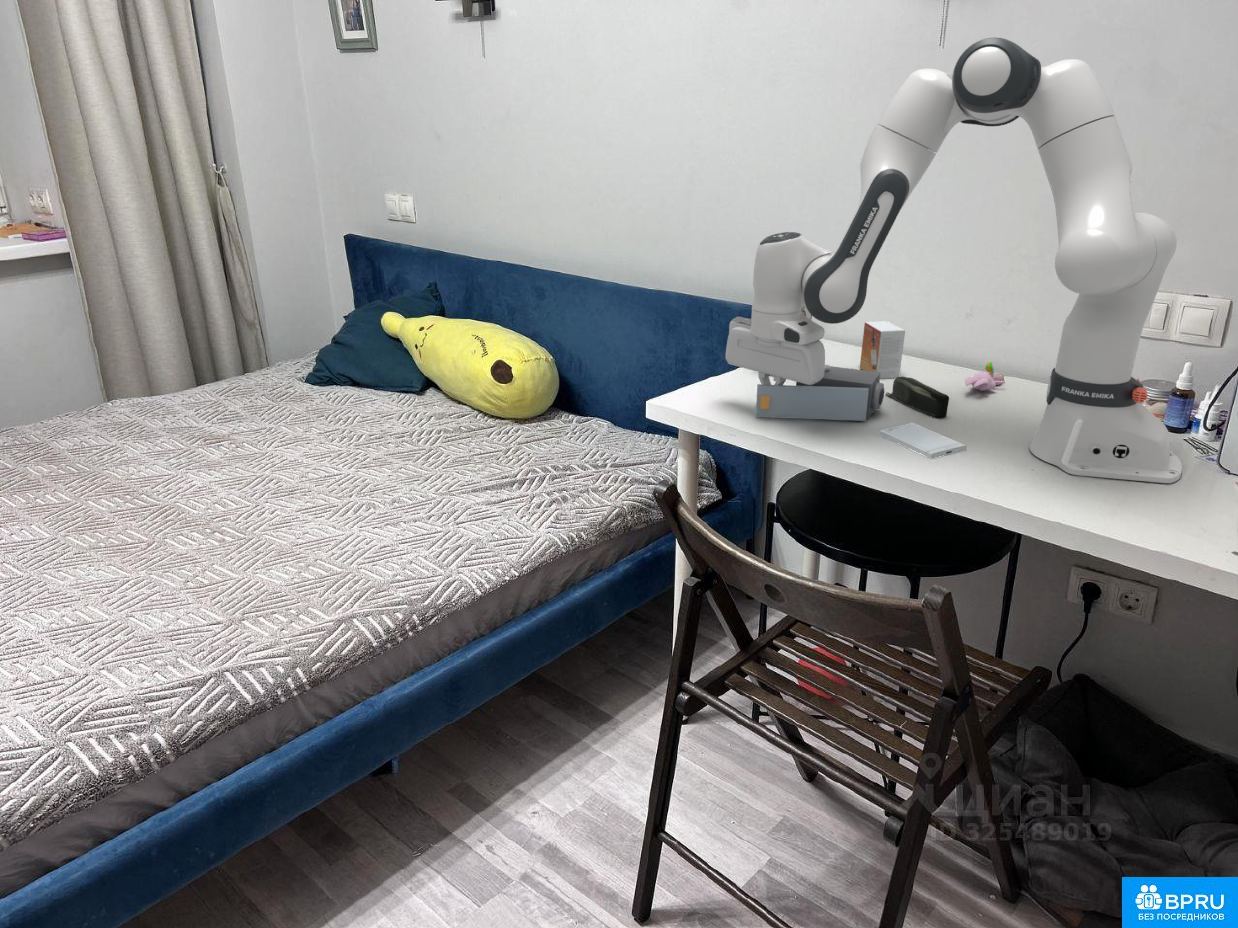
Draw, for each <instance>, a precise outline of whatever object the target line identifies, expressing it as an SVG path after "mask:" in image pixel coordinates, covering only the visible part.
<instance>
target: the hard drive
mask: <svg viewBox="0 0 1238 928" xmlns="http://www.w3.org/2000/svg"><path fill="white" fill-rule="evenodd" d="M879 435H880V437H882V438H884V439H886V440H888V441H891V442H893V443H894V444H897V443H899V444H901V445H903V446H906V447H908V448H910V449H912V450H914V451H916V452H918V453H921V454H923V455H925V456H927V457H929V458H934V459H936V458H935V457H938V458H940V457H939V456H942V457H946V456H949V455H948V454H950V455H953V453H954V454H957V452H958V453H961V452H965V451H967V447H968V446H967V445H965V444H963V443H961V442H959V441H957V440H954V439H952V438H950V437H947V436H944V435H943V434H940V433H938V432H935V431H933V430H930V429H928V428H926V427H924V426H921V425H920V424H917V423H915V422H910V423H905V424H900V425H897V426H893V427H888V428H884V429H883V428H882V429H881V430H879ZM899 444H898V445H899ZM901 445H900V446H901ZM903 446H902V447H903ZM908 448H907V449H908ZM910 449H909V450H910ZM912 450H911V451H912ZM914 451H913V452H914ZM916 452H915V453H916ZM918 453H917V454H918ZM921 454H920V455H921ZM923 455H922V456H923ZM943 455H944V456H943ZM945 455H946V456H945ZM925 456H924V457H925ZM927 457H926V458H927ZM929 458H928V459H929Z"/></svg>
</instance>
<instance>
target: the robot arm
mask: <svg viewBox="0 0 1238 928" xmlns="http://www.w3.org/2000/svg"><path fill="white" fill-rule="evenodd" d="M1102 85H1103V84H1101V82H1100V79H1098V77H1097V75H1096V73H1095V71H1094V70H1093V68H1092V67H1091V66H1090V64H1089V63H1088V62H1086V61H1084V60H1081V59H1078V58H1067V59H1062V60H1058V61H1055V62H1053V63H1051V64H1049V65H1045V66H1042V63H1041V61H1040V60H1039V59H1038V58H1036V57H1035V56H1033V54H1031V53H1029V52H1028V51H1026V50H1025V49H1024V48H1022V47H1021V46H1020V45H1019V44H1017V43H1015V42H1014V41H1012V40H1009V39H1006V38H1003V37H985V38H983V39H980V40H978V41H976V42H974V43H972V44H971V45H970V46H968V47H967V48H966V49H965V50H964V51H963V52H962V53H961V55H960V56H959V58H958V59H957V61H956V63H955V65H954V68H953V71H952V73H951V72H945V71H942V70H940V69H937V68H927V67H926V68H920V69H917V70H915V71H913V72H912V73H911V74H909V75H908V76H907V77H906V78H905V80H904V82H903V83H902V84H901V85H900V86H899V88H898V90H897V91H896V92H895V93H894V95H893V97H892V98H891V100H890V101H889V102H888V104H887V105H886V106H885V108H884V110H883V112H882V113H881V115H880V117H879V119H878V121H877V123H876V125H874V128H873V130H872V132H871V134H870V136H869V139H868V141H867V143H866V146H865V148H864V151H863V154H862V158H861V161H860V164H859V165H860V166H859V167H860V171H859V172H860V181H861V184H860V185H861V186H860V187H861V188H860V198H859V200H858V201H859V202H858V205H857V208H856V211H855V213H854V215H853V217H852V218H851V221H850V223H849V224H848V226H847V228H846V230H845V233H844V235H843V237H842V238H841V241H840V243H839V244H838V247H837V248H836V250H835V251H834V250H830V249H827V248H824V247H822V246H819V245H818V244H815V243H813V242H811V241H810V240H808V239H807V238H806V237H804V236H803V235H802V234H801V233H799V232H797V231H786V232H778V233H775V234H771V235H769V236H766V237H765V238H763V239H762V240H761V241H760V242H759V245H758V246H757V249H756V253H755V258H754V264H753V265H754V267H753V278H752V279H753V280H752V285H753V290H754V298H753V301H752V303H751V305H752V306H751V318H748V317H747V318H746V317H743V316H736V317H734V318H732V319H731V320H730V322H729V326H728V329H729V330H728V337H727V341H726V349H725V360H726V361H727V364H728V365H732V366H735V367H739V368H743V369H746V370H750V371H754V372H758V379H759V382H760V384H761V385H772V383H771V380H770V377H771V376H773V378H772V379H773V380H772V381H774V383H773V385H785V384H784V383H786V381H787V380H789V381H793V382H795V383H796V382H800V383H804V384H808V385H812V384H815V383H817V382H819V381H820V380H821V379H822V378H823V377H824V371H825V365H826V349H825V346H824V343H823V342H822V341H821V340H822V339H823V338H824V337H825V328H824V327H823V326H821V325H820V324H818V323H817V322H814V321H813V320H810V319H808V318H807V317H806V316H804V315H803V314H801V306H802V305H803V304H805V305H806V308H807V310H808V311H809V313H810V314H811V315H812V317H813V318H814V319H815V320H817V321H820V322H822V323H824V324H831V325H832V324H840V323H844V322H847V321H848V320H851V319H853V318H854V317H855V316H857V314H858V313H859V312H860V311H861V309H862V308H863V305H864V303H865V300H866V297H867V291H868V283H869V281H868V280H869V276H870V273H871V269H872V266H873V265H874V262H875V260H876V259H877V256H878V255H879V253H880V250H881V249H882V247H883V245H884V243H885V241H886V239H887V237H888V235H889V233H890V232H891V229H892V228H893V225H894V223H895V221H896V219H897V217H898V215H899V213H900V212H901V210H902V208H903V207H904V205H905V204H906V202H907V200H908V199H909V197H910V195H911V194H912V192H913V191H914V190H915V188H916V187H917V186H918V184H919V182H920V181H921V180H922V178H923V176H924V175H925V173H926V172H927V170H928V168H929V167H930V165H931V164H932V162H933V160H934V159H935V157H936V155H937V154H936V153H938V152H939V150H940V148H941V146H942V144H943V142H945V141H944V140H945V139H946V137H947V136H948V134H949V133H950V131H951V130H952V129H953V127H955V126H956V125H957V124H958V123H962V124H967V125H977V126H982V127H983V126H984V127H1001V126H1005V125H1008V124H1011V123H1013V122H1014V121H1016V120H1017V119H1019V118H1021V119H1023V120H1024V121H1025V122H1026V123H1027V125H1028V127H1029V129H1030V130H1031V133H1032V136H1033V139H1034V142H1035V145H1036V147H1037V150H1038V153H1039V157H1040V160H1041V162H1042V165H1043V169H1044V171H1045V175H1046V178H1047V180H1048V183H1049V186H1050V189H1051V192H1052V198H1053V201H1054V207H1055V216H1056V225H1057V228H1056V229H1057V237H1058V246H1057V247H1058V249H1057V252H1056V255H1055V257H1054V267H1055V274H1056V276H1057V278H1058V280H1059V281H1060V283H1061V284H1062V285H1063V286H1064V287H1065V288H1066V289H1068V290H1069V291H1070V292H1073V293H1075V294H1078V295H1077V298H1076V301H1075V303H1074V305H1073V307H1072V309H1071V310H1070V312H1069V314H1068V315H1067V317H1066V319H1065V321H1064V323H1063V326H1062V331H1061V337H1060V340H1059V341H1060V342H1059V346H1058V353H1057V358H1056V363H1055V367H1054V368H1052V371H1051V372H1050V373H1051V375H1050V376H1049V380H1048V384H1047V390H1046V396H1045V398H1046V406H1045V410H1044V413H1043V417H1042V419H1041V420H1040V421H1041V422H1040V423H1039V427H1038V430H1037V431H1036V433H1035V435H1034V438H1033V440H1031V443H1030V445H1029V450H1030V452H1031V454H1033V455H1034V456H1035V457H1037V458H1038V459H1040V460H1042V461H1044V462H1046V463H1049V464H1051V465H1054V466H1056V467H1058V468H1060V469H1061V470H1062V471H1064V472H1066V473H1067V474H1069V475H1070V474H1071V475H1075V476H1084V477H1092V478H1093V477H1096V478H1107V479H1115V480H1116V479H1117V480H1126V481H1127V480H1129V481H1139V482H1150V483H1159V484H1160V483H1161V484H1173V483H1175V482H1176V481H1178V480H1179V479H1180V478H1181V476H1182V474H1183V473H1182V472H1183V464H1182V461H1181V459H1180V457H1179V455H1177V454H1176V453H1174V452H1173V451H1171V438H1170V437H1171V436H1170V434H1169V430H1168V428H1167V426H1166V424H1164V422H1162V421H1161V419H1160V418H1158V417H1157V416H1156V415H1155V414H1154V413H1152V411H1151V410H1149V409H1148V408H1147V407H1146V406H1145V405H1143V404H1142V403H1144V402H1145V401H1146V400H1147V398H1148V393H1147V390H1146V388H1144V385H1143V384H1142V382H1141V380H1140V379H1139V378H1137V379H1136V378H1134V377H1133V376H1132V375H1133V374H1132V373H1133V370H1134V367H1135V366H1134V365H1135V363H1136V362H1135V361H1136V357H1137V354H1138V353H1137V352H1138V349H1139V344H1140V339H1141V335H1142V333H1143V330H1144V329H1143V328H1144V326H1145V324H1146V321H1147V318H1148V316H1149V313H1150V311H1151V309H1152V307H1153V304H1154V302H1155V298H1156V297H1157V294H1158V291H1159V289H1160V286H1161V283H1162V282H1163V281H1162V280H1163V277H1164V275H1165V272H1166V269H1167V268H1168V266H1169V264H1170V262H1171V260H1172V259H1173V257H1174V255H1175V252H1176V250H1177V234H1176V232H1175V230H1174V229H1173V227H1172V226H1171V224H1170V223H1169V222H1168V221H1167V220H1165V219H1163V217H1162V218H1161V217H1160V216H1157V215H1154V214H1151V213H1147V212H1139V211H1138V212H1134V208H1133V203H1132V201H1133V200H1132V192H1131V174H1132V170H1133V168H1132V167H1133V166H1132V161H1131V159H1130V156H1129V153H1128V150H1127V147H1126V144H1125V141H1124V137H1123V136H1122V135H1123V134H1122V132H1121V130H1120V127H1119V124H1118V121H1117V117H1116V115H1115V112H1114V110H1113V107H1112V104H1111V102H1110V100H1109V98H1108V95H1107V93H1106V92H1105V89H1104V87H1103V86H1102Z"/></svg>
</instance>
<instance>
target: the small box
mask: <svg viewBox="0 0 1238 928" xmlns="http://www.w3.org/2000/svg"><path fill="white" fill-rule="evenodd" d="M862 334H863V335H862V343H861V344H862V345H861V353H860V354H861V355H860V361H859V362H860V363H859V369H860V370H865V371H873V372H881V373H880V380H881V379H882V380H884V379H896V378H897V377H900V373H901V368H902V358H903V353H904V352H903V350H904V344H905V343H904V342H905V336H906V335H905V334H906V330H905V329H904V328H901V327H900V326H898V325H896V324H895V323H892V322H890V321H889V320H883V321H882V320H880V321H879V320H878V321H864V327H863V333H862Z"/></svg>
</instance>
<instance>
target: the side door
mask: <svg viewBox="0 0 1238 928" xmlns="http://www.w3.org/2000/svg"><path fill="white" fill-rule="evenodd" d="M868 393H869V389H868V388H854V387H823V386H796V385H791V384H790V385H789V384H788V385H787V384H783V385H774V384H771V385H762V384H761V383H759V384H757V386H756V402H755V403H756V405H755V406H756V407H755V417H757V418H782V419H783V418H784V419H785V418H786V419H805V420H806V419H809V420H811V419H812V420H837V421H838V420H840V421H864V422H865V421H867V420H866V412H867V402H868Z"/></svg>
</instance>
